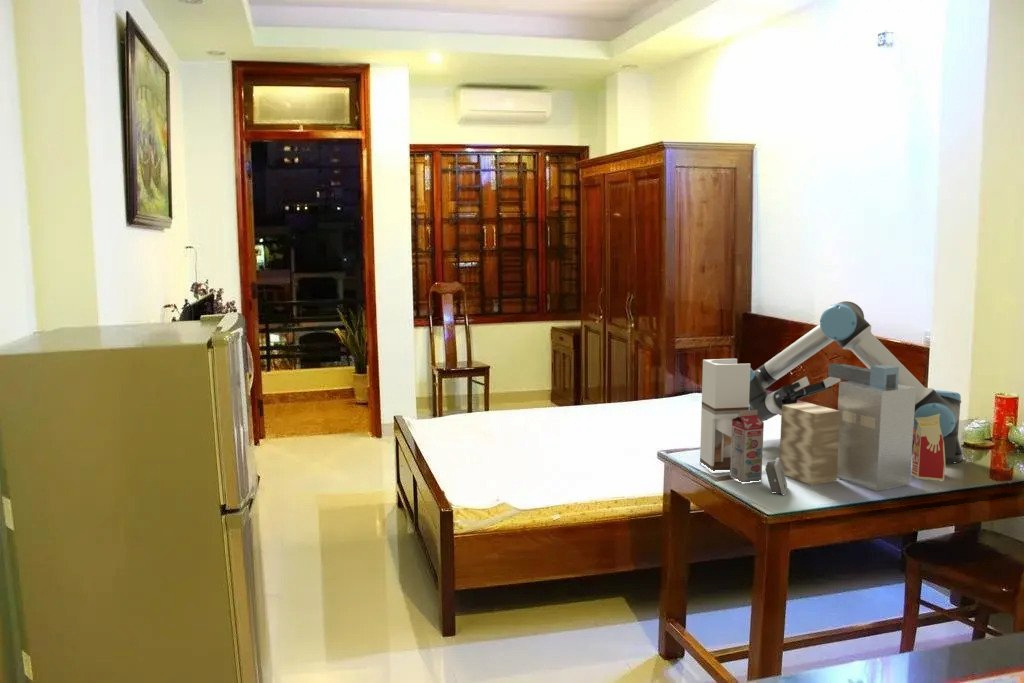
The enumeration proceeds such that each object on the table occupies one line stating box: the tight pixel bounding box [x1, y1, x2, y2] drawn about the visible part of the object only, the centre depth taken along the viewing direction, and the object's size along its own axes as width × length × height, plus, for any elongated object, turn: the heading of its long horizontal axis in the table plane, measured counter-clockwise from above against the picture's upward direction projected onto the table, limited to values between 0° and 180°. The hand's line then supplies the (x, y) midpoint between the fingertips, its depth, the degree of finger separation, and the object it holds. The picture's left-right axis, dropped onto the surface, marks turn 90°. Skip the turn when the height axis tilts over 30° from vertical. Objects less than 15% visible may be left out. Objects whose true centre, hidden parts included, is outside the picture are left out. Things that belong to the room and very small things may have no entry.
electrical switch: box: [764, 457, 788, 495], centre depth 238 cm, size 9×5×9 cm, turn 157°
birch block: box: [779, 401, 840, 486], centre depth 250 cm, size 14×10×22 cm
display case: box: [699, 358, 751, 471], centre depth 259 cm, size 11×11×35 cm
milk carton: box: [910, 414, 946, 482], centre depth 250 cm, size 9×9×20 cm
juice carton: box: [729, 410, 765, 482], centre depth 247 cm, size 7×7×22 cm
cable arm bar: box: [827, 362, 899, 389], centre depth 248 cm, size 22×6×6 cm, turn 25°
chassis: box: [837, 380, 916, 492], centre depth 245 cm, size 16×14×30 cm
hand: (823, 378), depth 262 cm, fingers open, 13 cm apart
